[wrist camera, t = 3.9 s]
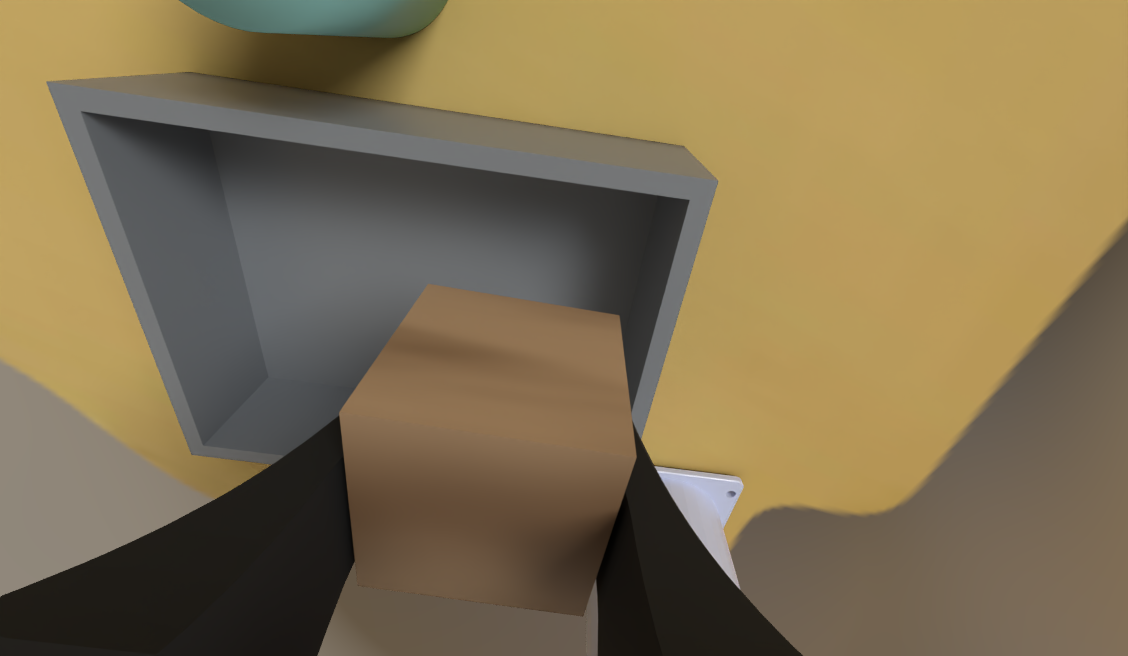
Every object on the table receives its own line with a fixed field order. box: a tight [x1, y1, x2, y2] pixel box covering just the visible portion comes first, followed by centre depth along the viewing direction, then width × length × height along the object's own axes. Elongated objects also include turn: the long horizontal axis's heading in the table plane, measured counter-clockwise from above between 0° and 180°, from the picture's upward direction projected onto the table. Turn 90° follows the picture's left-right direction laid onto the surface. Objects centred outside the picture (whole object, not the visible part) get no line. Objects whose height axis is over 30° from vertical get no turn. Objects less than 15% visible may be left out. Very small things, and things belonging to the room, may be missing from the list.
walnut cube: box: [339, 284, 637, 616], centre depth 11 cm, size 5×5×5 cm
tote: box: [46, 72, 718, 464], centre depth 18 cm, size 13×17×5 cm
